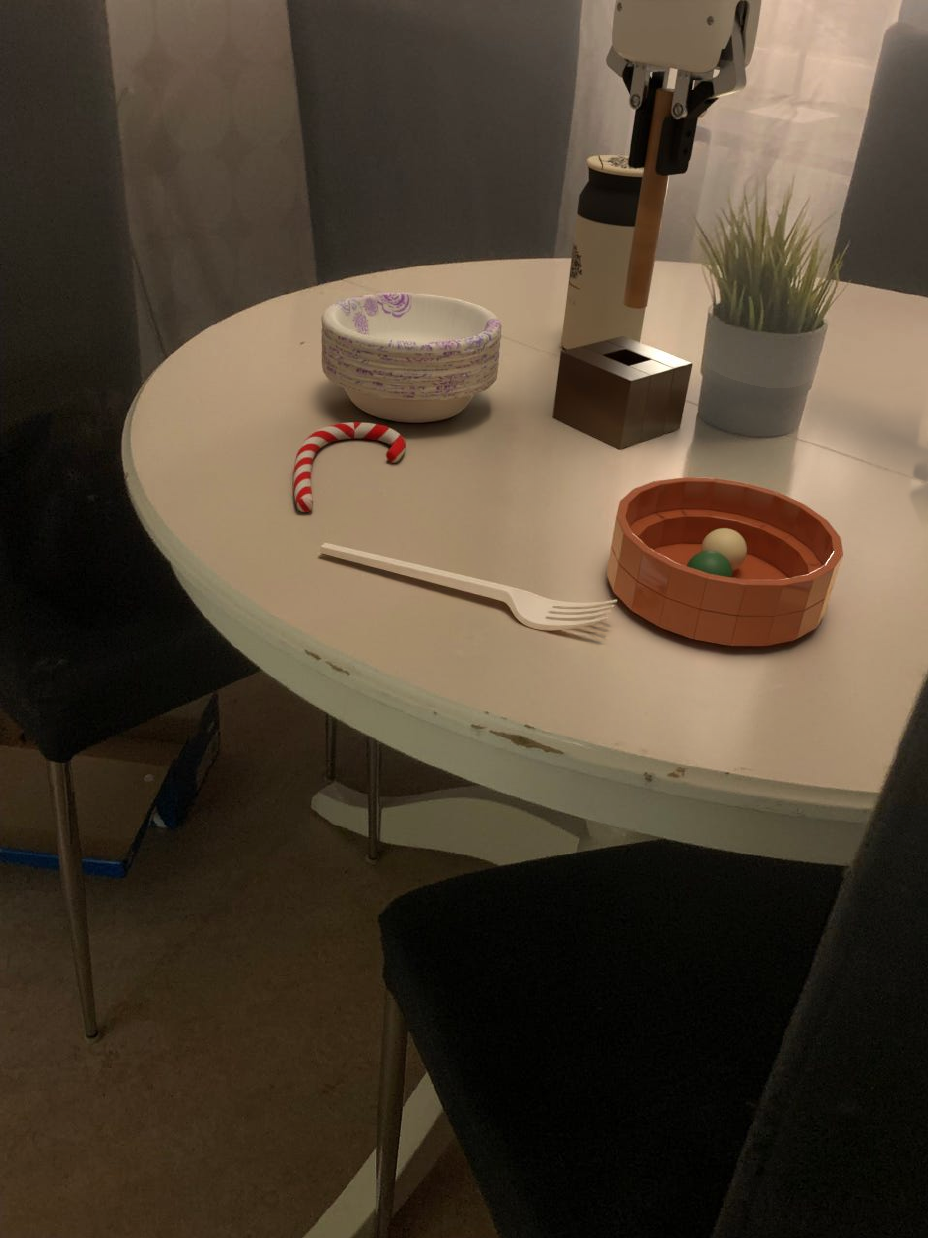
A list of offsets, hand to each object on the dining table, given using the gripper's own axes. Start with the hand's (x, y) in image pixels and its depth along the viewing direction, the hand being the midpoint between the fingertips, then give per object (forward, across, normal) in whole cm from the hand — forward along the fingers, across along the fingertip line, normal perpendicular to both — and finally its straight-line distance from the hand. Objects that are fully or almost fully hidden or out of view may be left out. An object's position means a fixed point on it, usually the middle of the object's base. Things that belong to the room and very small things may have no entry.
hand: (657, 167), depth 83 cm
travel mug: (+21, +14, -14) cm, 29 cm away
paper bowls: (+21, +13, +12) cm, 28 cm away
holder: (+21, 0, 0) cm, 21 cm away
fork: (+21, -13, +30) cm, 39 cm away
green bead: (+19, -23, +17) cm, 34 cm away
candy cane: (+21, +5, +26) cm, 34 cm away
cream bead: (+19, -22, +14) cm, 32 cm away
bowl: (+21, -23, +16) cm, 35 cm away
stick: (+11, 0, 0) cm, 11 cm away
